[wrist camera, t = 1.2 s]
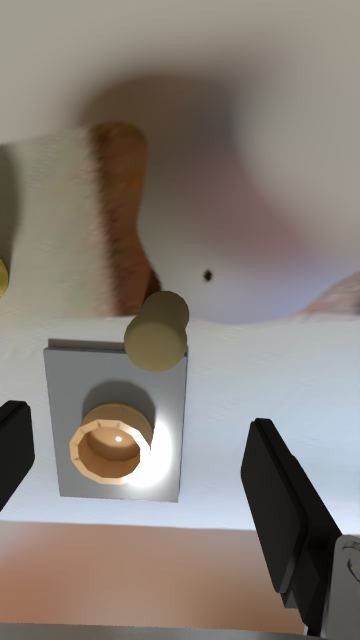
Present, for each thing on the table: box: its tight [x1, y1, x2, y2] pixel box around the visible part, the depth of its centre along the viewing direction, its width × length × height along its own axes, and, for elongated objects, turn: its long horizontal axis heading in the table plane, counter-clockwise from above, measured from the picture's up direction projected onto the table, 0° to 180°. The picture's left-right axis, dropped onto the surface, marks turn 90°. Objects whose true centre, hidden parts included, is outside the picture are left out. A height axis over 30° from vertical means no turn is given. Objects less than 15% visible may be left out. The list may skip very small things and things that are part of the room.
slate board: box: [43, 347, 187, 503], centre depth 31 cm, size 18×24×1 cm
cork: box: [124, 291, 189, 372], centre depth 22 cm, size 6×6×11 cm
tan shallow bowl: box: [69, 402, 153, 485], centre depth 29 cm, size 10×10×3 cm
